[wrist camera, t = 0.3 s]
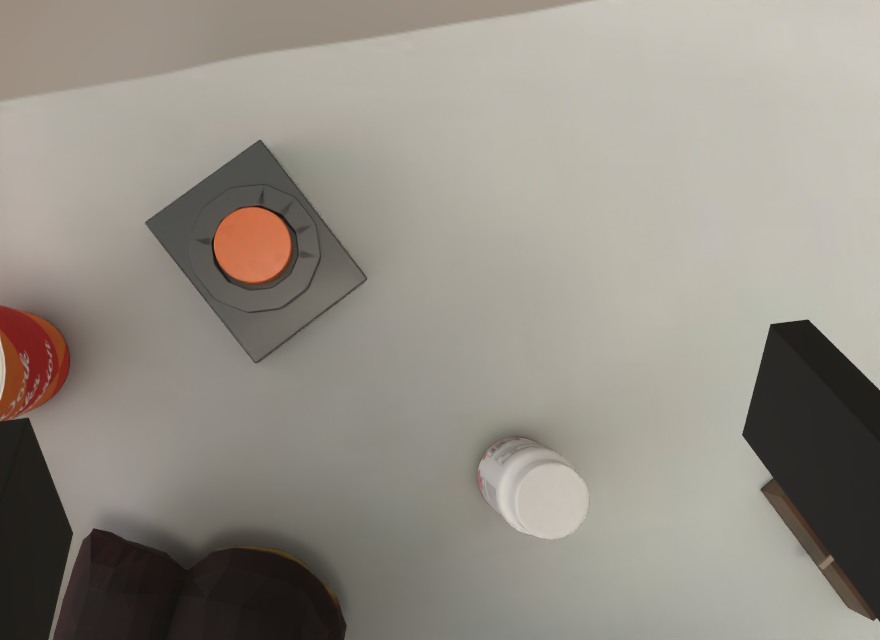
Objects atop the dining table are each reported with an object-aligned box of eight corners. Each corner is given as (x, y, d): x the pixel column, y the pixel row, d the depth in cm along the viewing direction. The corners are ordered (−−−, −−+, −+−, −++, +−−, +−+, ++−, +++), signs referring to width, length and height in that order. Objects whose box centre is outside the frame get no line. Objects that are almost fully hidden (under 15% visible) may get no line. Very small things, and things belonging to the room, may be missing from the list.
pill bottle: (539, 521, 51) (582, 558, 43) (467, 502, 50) (496, 535, 42) (560, 447, 51) (607, 469, 43) (488, 426, 51) (521, 445, 42)
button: (307, 255, 46) (306, 252, 44) (249, 299, 45) (245, 297, 43) (262, 197, 45) (259, 191, 43) (203, 241, 45) (197, 237, 43)
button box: (365, 281, 50) (369, 276, 46) (258, 362, 49) (253, 365, 45) (263, 147, 49) (257, 131, 45) (152, 227, 48) (136, 218, 44)
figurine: (356, 559, 50) (105, 512, 48) (362, 578, 43) (69, 524, 41) (321, 728, 48) (59, 686, 46) (321, 777, 41) (14, 729, 40)
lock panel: (942, 523, 55) (973, 532, 52) (840, 615, 54) (867, 629, 51) (857, 405, 54) (884, 409, 51) (752, 496, 53) (774, 504, 50)
